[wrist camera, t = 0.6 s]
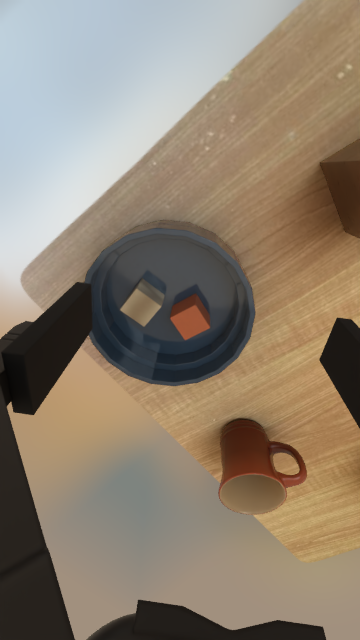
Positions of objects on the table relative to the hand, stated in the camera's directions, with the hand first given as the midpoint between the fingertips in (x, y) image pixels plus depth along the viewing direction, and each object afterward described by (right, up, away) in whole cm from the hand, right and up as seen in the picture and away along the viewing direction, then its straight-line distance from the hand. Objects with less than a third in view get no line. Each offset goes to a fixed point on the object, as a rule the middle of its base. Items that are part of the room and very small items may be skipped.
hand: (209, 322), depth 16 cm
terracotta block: (0, +1, +22) cm, 22 cm away
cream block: (-6, +3, +21) cm, 22 cm away
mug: (+10, -18, +31) cm, 37 cm away
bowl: (-3, +3, +22) cm, 22 cm away
